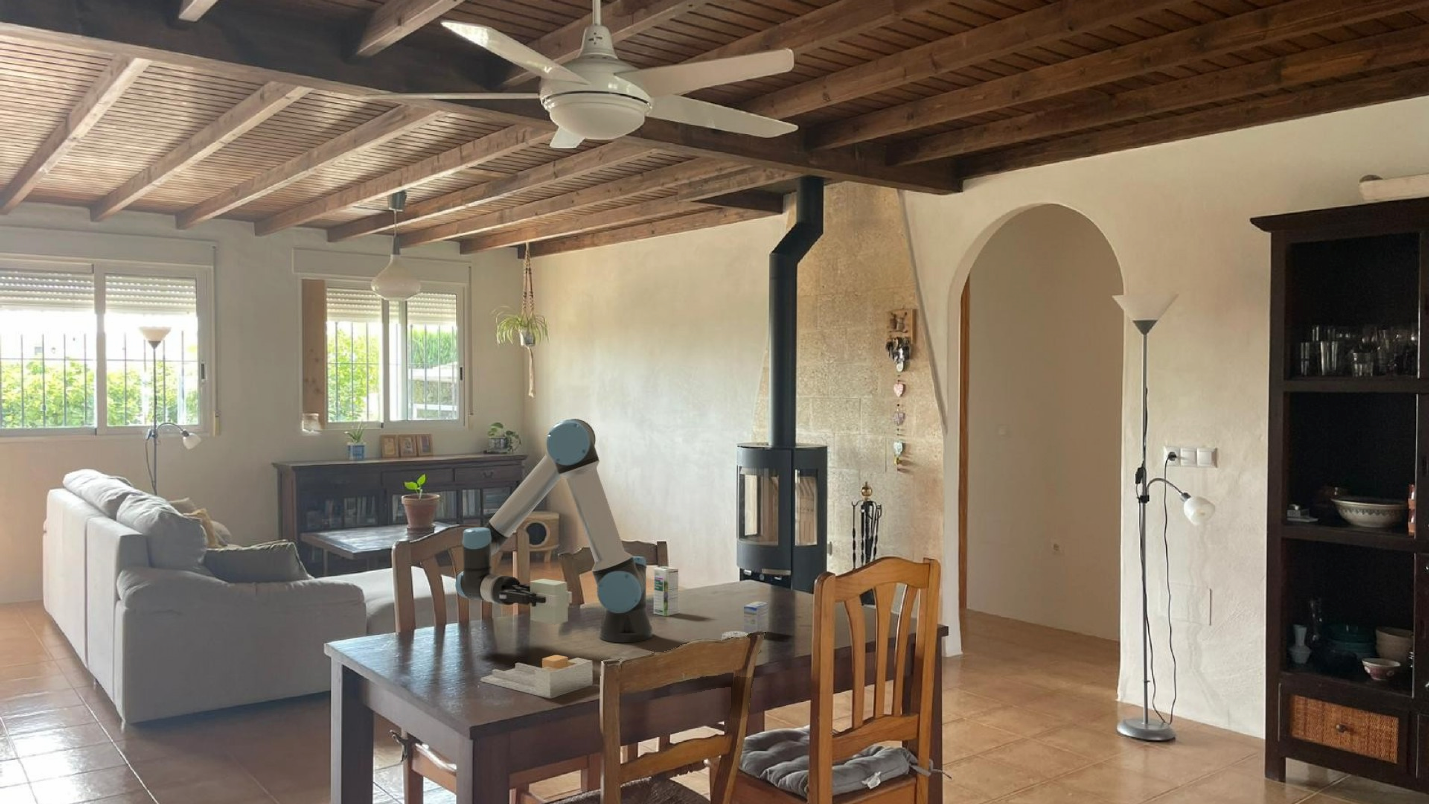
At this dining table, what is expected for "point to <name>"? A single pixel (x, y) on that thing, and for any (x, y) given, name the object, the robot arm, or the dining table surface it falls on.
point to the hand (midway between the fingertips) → (563, 599)
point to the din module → (544, 611)
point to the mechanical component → (733, 634)
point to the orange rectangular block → (555, 662)
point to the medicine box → (756, 617)
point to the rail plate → (521, 680)
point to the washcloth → (630, 654)
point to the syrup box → (665, 591)
